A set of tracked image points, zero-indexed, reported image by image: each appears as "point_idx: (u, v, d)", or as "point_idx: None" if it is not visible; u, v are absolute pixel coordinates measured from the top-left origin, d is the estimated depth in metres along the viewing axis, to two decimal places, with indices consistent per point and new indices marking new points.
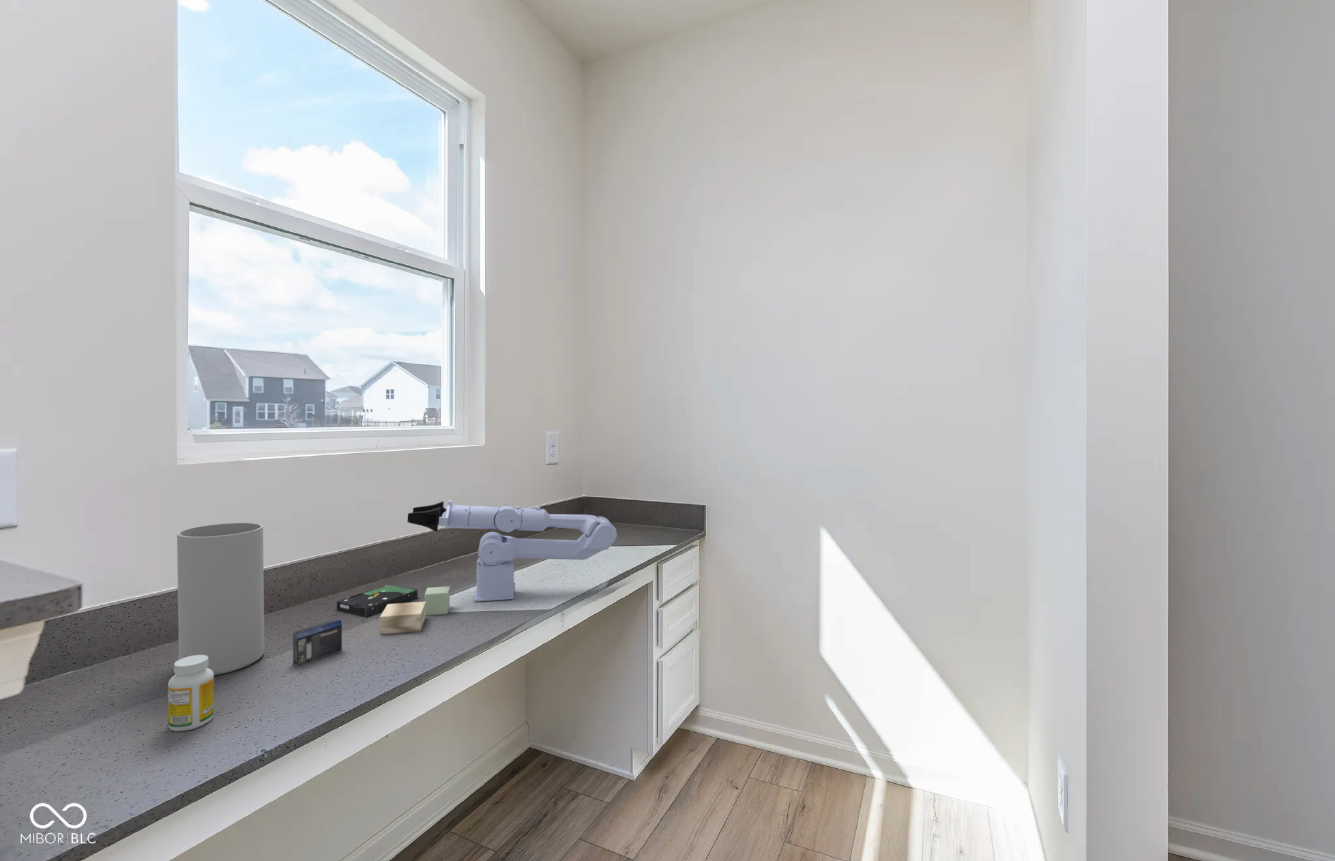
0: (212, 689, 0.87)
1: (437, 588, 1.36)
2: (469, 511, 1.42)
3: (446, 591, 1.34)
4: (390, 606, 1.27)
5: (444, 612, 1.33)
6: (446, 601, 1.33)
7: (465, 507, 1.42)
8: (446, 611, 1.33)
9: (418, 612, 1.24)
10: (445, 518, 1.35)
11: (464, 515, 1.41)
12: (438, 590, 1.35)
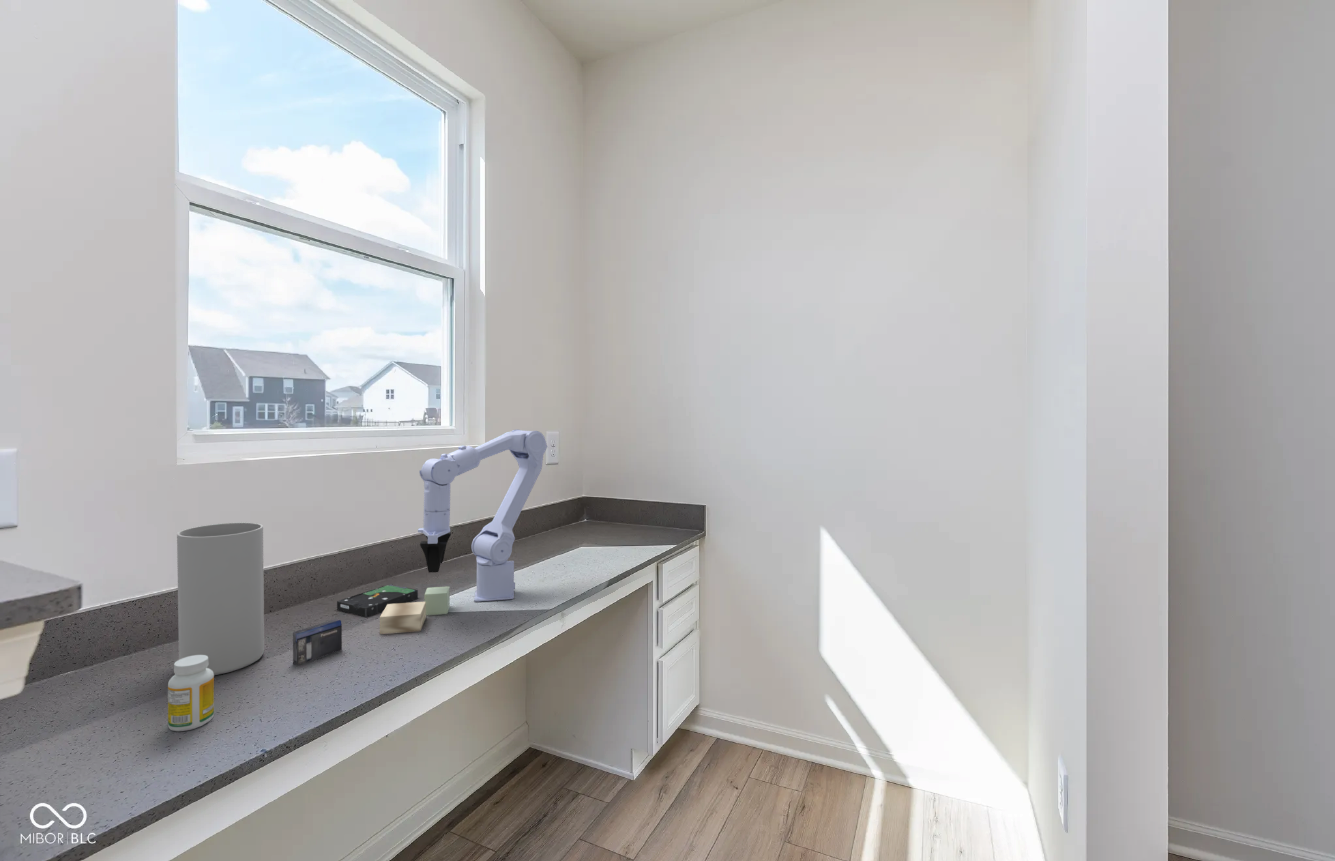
0: (212, 689, 0.87)
1: (437, 588, 1.36)
2: (427, 511, 1.31)
3: (446, 591, 1.34)
4: (390, 606, 1.27)
5: (444, 612, 1.33)
6: (446, 601, 1.33)
7: (424, 515, 1.32)
8: (446, 611, 1.33)
9: (418, 612, 1.24)
10: (428, 537, 1.27)
11: (431, 516, 1.31)
12: (438, 590, 1.35)
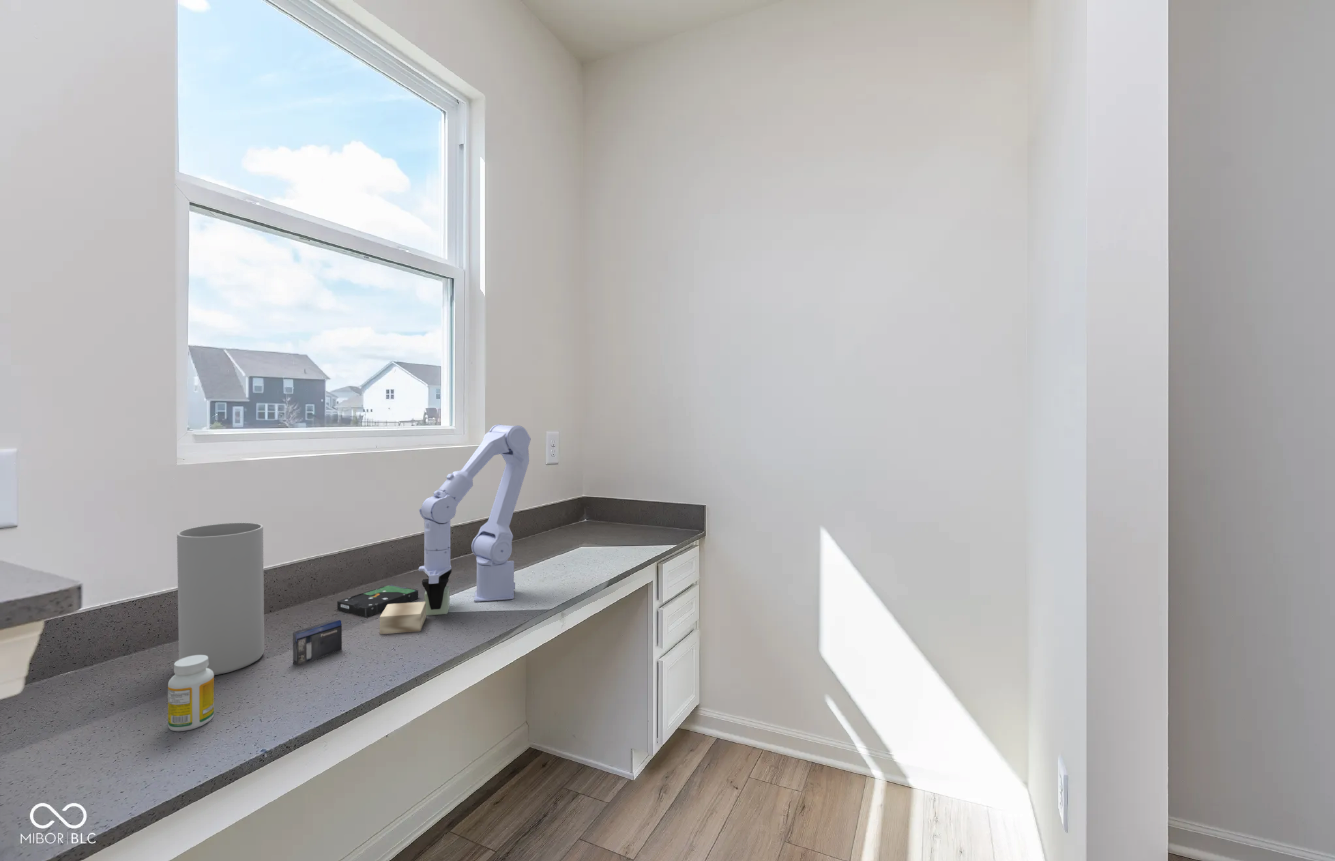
0: (212, 689, 0.87)
1: None
2: (428, 549, 1.32)
3: (446, 591, 1.34)
4: (390, 606, 1.27)
5: (444, 612, 1.33)
6: (446, 601, 1.33)
7: (425, 553, 1.33)
8: (446, 611, 1.33)
9: (417, 612, 1.24)
10: (429, 577, 1.28)
11: (431, 555, 1.32)
12: None
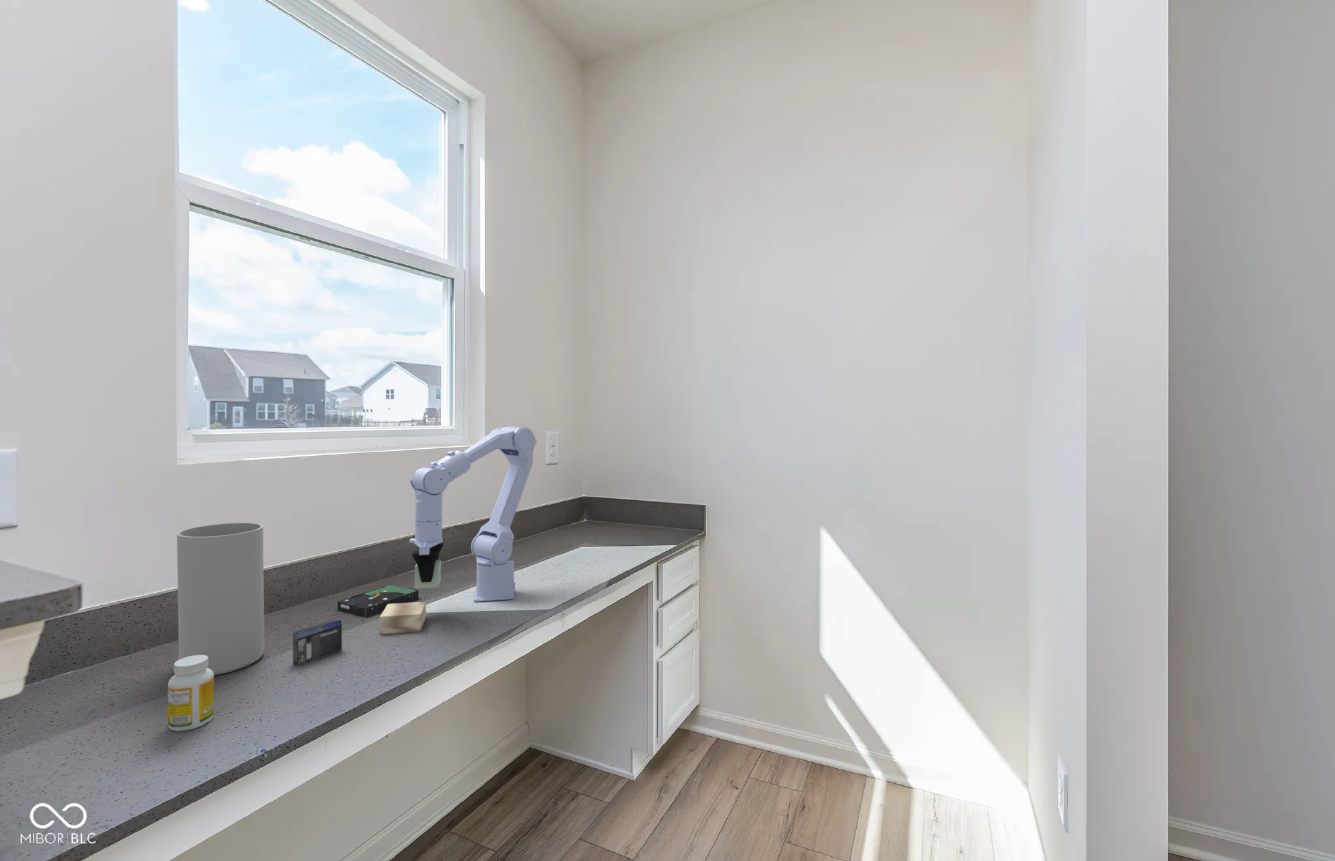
0: (212, 689, 0.87)
1: None
2: (419, 521, 1.29)
3: (437, 564, 1.31)
4: (390, 606, 1.27)
5: (435, 585, 1.30)
6: (437, 574, 1.30)
7: (415, 525, 1.30)
8: (437, 584, 1.30)
9: (418, 612, 1.24)
10: (420, 548, 1.25)
11: (422, 526, 1.29)
12: None
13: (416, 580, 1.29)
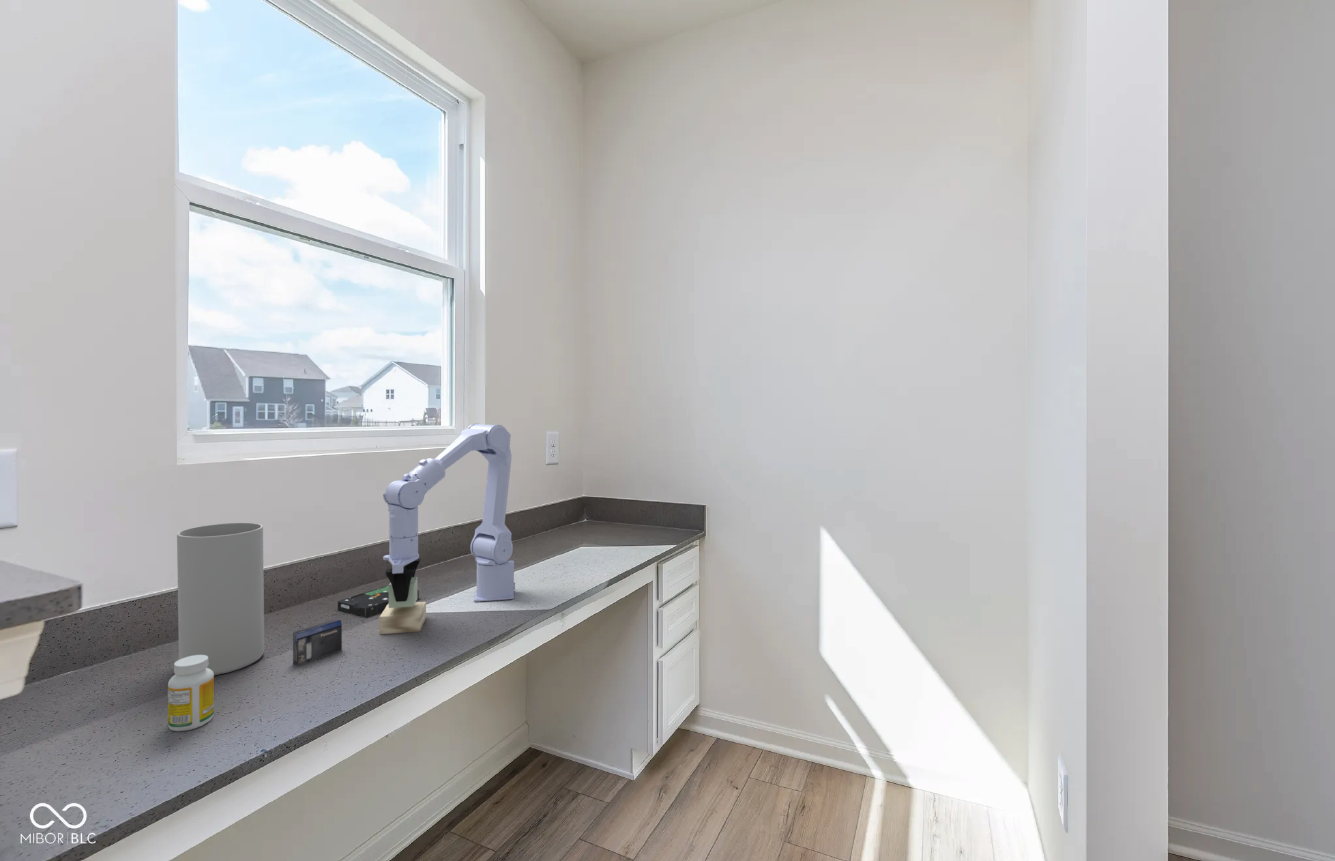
0: (212, 689, 0.87)
1: None
2: (392, 537, 1.22)
3: (413, 582, 1.25)
4: None
5: (410, 604, 1.24)
6: (412, 592, 1.24)
7: (389, 541, 1.23)
8: (412, 603, 1.24)
9: (417, 612, 1.24)
10: (393, 566, 1.18)
11: (396, 543, 1.22)
12: None
13: (390, 599, 1.23)
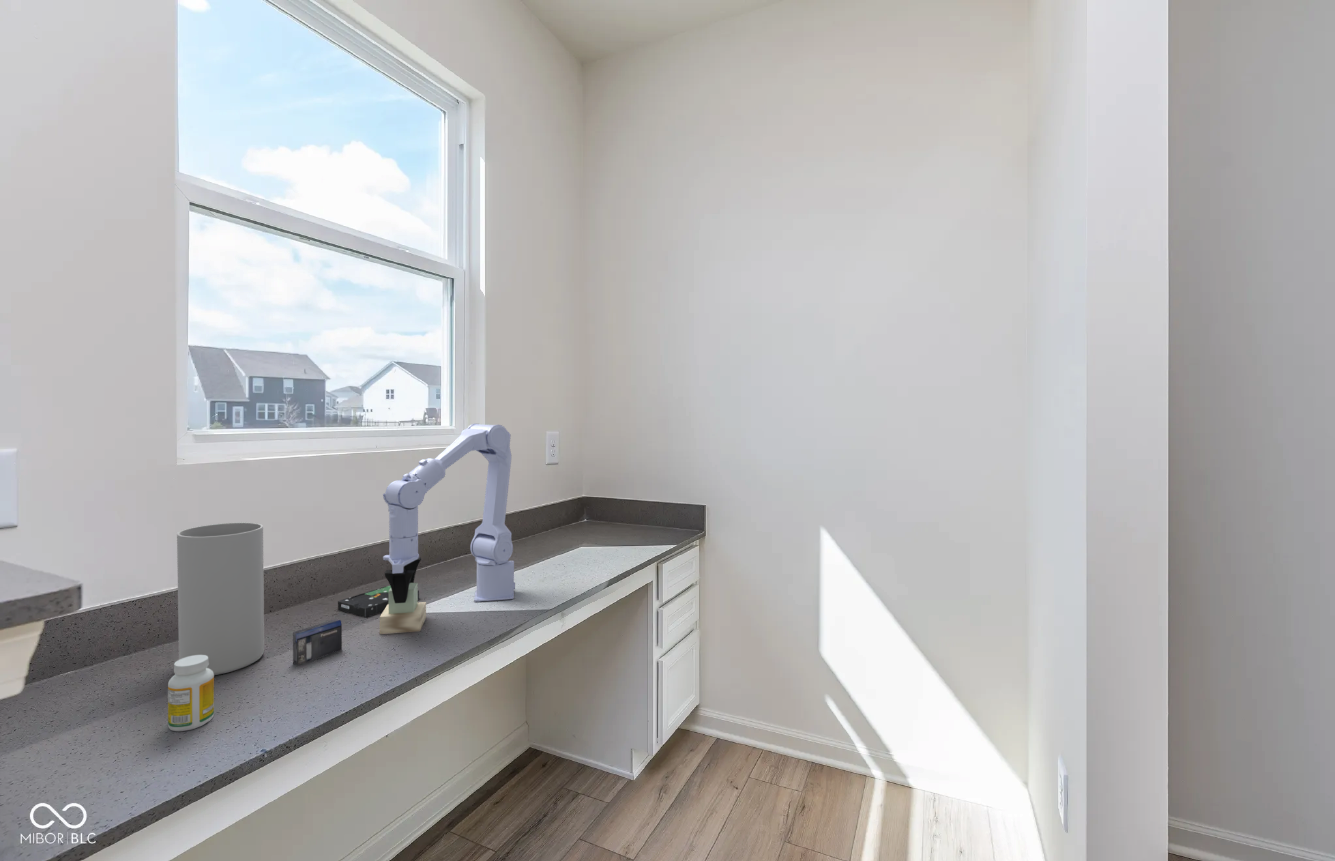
0: (212, 689, 0.87)
1: None
2: (392, 537, 1.22)
3: (413, 587, 1.25)
4: None
5: (410, 610, 1.24)
6: (412, 598, 1.24)
7: (389, 541, 1.23)
8: (412, 609, 1.24)
9: (417, 612, 1.24)
10: (393, 566, 1.18)
11: (396, 543, 1.22)
12: None
13: (390, 605, 1.23)
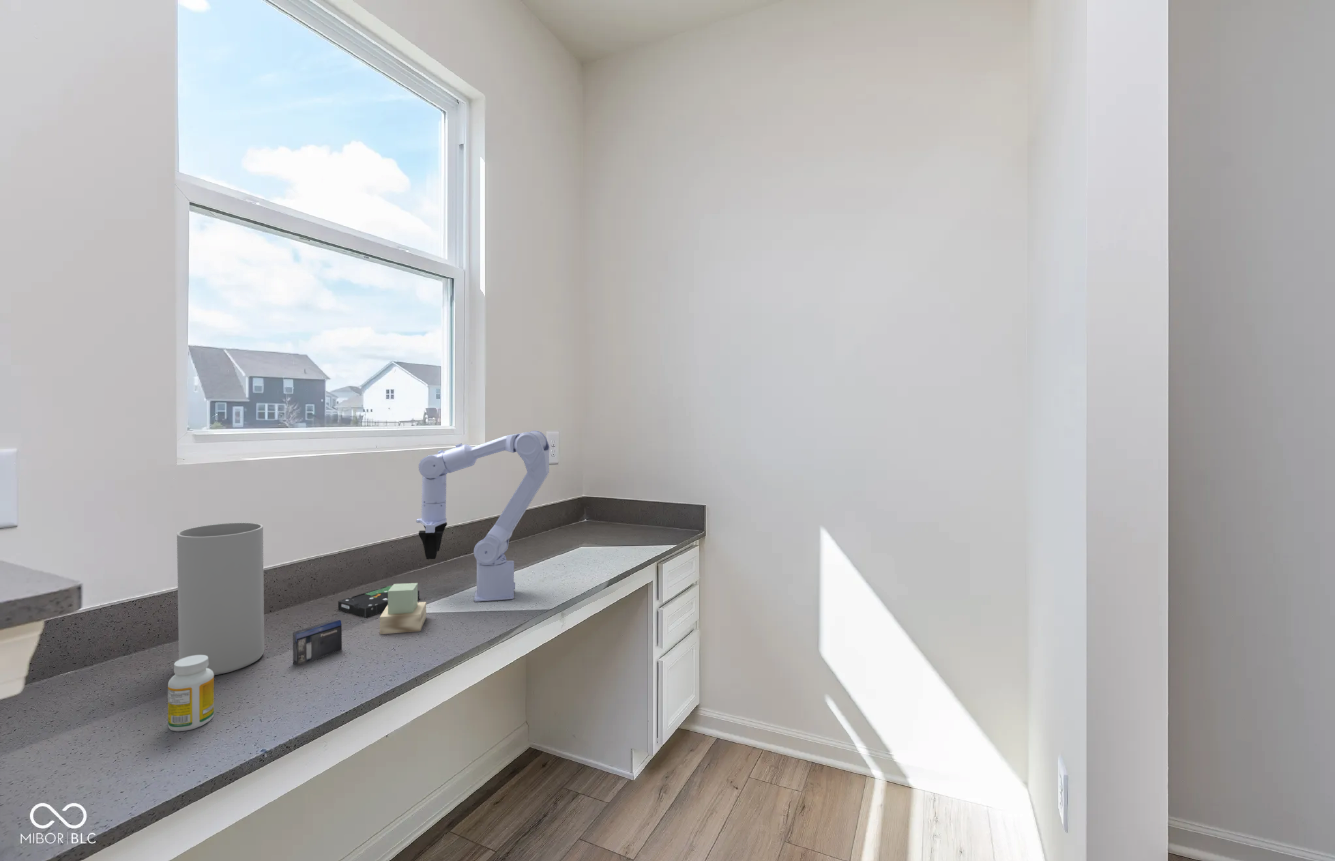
0: (212, 689, 0.87)
1: (403, 585, 1.26)
2: (425, 502, 1.42)
3: (412, 588, 1.24)
4: None
5: (409, 611, 1.23)
6: (411, 599, 1.23)
7: (422, 506, 1.43)
8: (411, 610, 1.24)
9: (418, 612, 1.24)
10: (426, 527, 1.38)
11: (428, 507, 1.42)
12: (403, 587, 1.25)
13: (389, 605, 1.22)
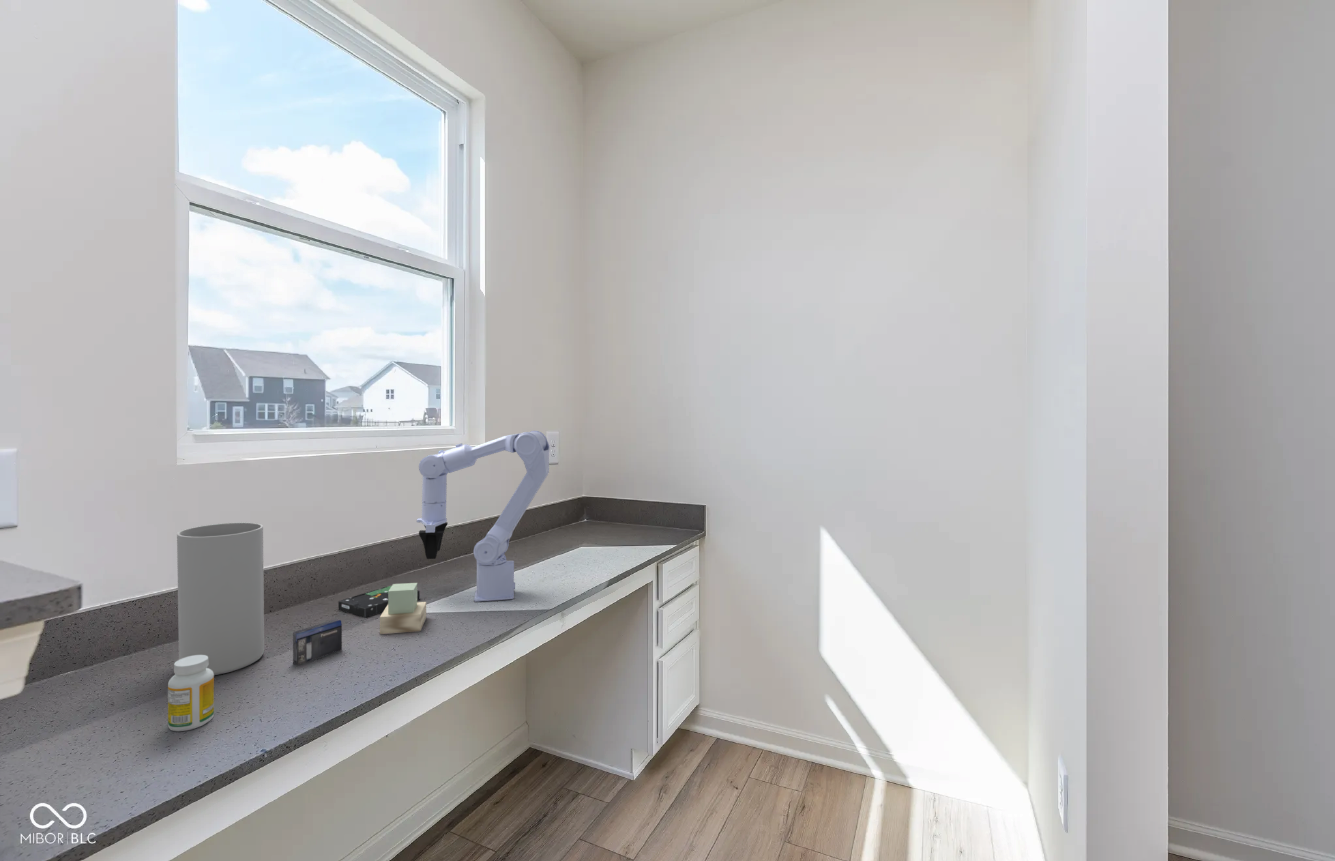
0: (212, 689, 0.87)
1: (403, 585, 1.26)
2: (425, 502, 1.43)
3: (412, 588, 1.25)
4: None
5: (410, 610, 1.23)
6: (412, 599, 1.23)
7: (422, 506, 1.43)
8: (412, 609, 1.24)
9: (418, 612, 1.24)
10: (426, 526, 1.38)
11: (428, 507, 1.42)
12: (403, 587, 1.25)
13: (390, 605, 1.22)
